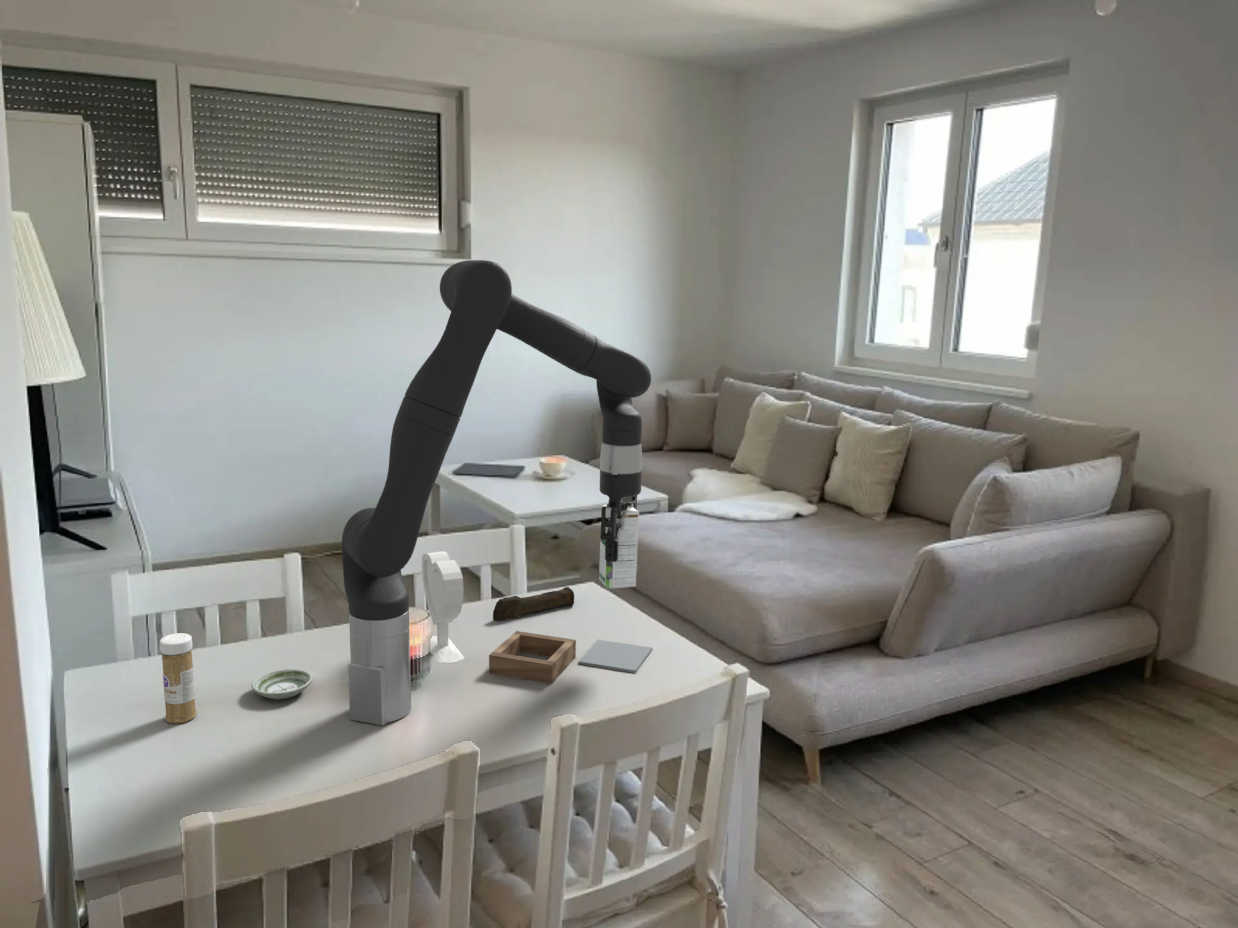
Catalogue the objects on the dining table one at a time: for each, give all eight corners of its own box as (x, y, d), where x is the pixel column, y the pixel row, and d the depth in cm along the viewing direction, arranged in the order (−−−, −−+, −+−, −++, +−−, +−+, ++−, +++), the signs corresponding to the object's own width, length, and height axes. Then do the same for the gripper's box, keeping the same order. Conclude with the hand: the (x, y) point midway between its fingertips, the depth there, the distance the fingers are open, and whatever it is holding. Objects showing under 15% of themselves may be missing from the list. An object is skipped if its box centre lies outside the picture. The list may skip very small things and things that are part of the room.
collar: (551, 683, 161) (552, 664, 160) (489, 673, 164) (489, 654, 164) (575, 657, 172) (575, 639, 171) (516, 648, 175) (516, 630, 175)
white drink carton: (597, 579, 172) (599, 503, 169) (628, 577, 173) (630, 502, 170) (606, 589, 166) (608, 511, 163) (637, 587, 168) (640, 510, 165)
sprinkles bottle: (159, 720, 144) (152, 640, 141) (183, 708, 148) (177, 630, 146) (180, 727, 142) (173, 645, 140) (204, 714, 146) (198, 635, 144)
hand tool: (565, 601, 201) (565, 581, 200) (575, 607, 198) (575, 586, 197) (487, 618, 191) (487, 597, 190) (496, 624, 188) (496, 602, 187)
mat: (635, 672, 166) (635, 670, 166) (578, 663, 169) (578, 661, 169) (652, 649, 176) (652, 647, 176) (597, 641, 179) (597, 639, 179)
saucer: (286, 676, 161) (286, 663, 161) (325, 689, 157) (325, 676, 156) (239, 696, 153) (238, 683, 153) (278, 712, 148) (278, 698, 148)
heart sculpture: (419, 636, 180) (417, 547, 176) (444, 632, 182) (443, 544, 178) (441, 666, 166) (440, 571, 163) (468, 662, 169) (467, 568, 165)
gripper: (613, 458, 173) (611, 541, 176) (588, 473, 160) (586, 563, 163) (651, 462, 171) (648, 546, 174) (629, 477, 157) (626, 568, 161)
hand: (618, 554), depth 169 cm, fingers closed on white drink carton, 8 cm apart
